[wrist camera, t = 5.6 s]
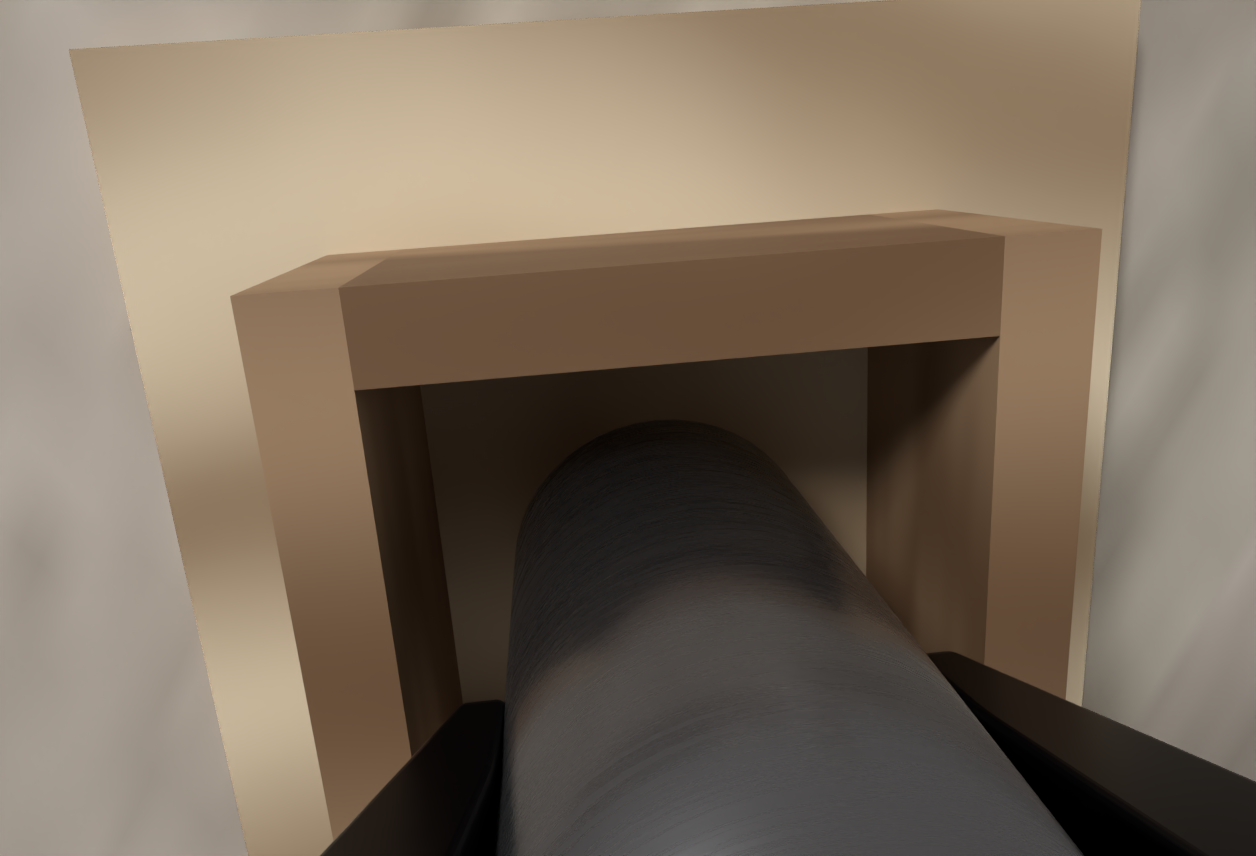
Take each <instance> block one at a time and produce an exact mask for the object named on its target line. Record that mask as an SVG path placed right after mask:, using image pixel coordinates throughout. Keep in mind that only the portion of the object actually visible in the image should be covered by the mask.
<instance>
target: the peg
mask: <svg viewBox="0 0 1256 856" xmlns="http://www.w3.org/2000/svg"><path fill="white" fill-rule="evenodd" d="M494 856H1084V855H1083V853H1082V852H1081V851H1080V850H1079V848H1078V847H1077V846H1076V844H1075V843H1074V842H1073V841H1072V839H1071V838H1070V837H1069V835H1068V834H1067V833H1066V832H1065V830H1064V829H1063V828H1062V827H1061V825H1060V824H1059V823H1058V821H1057V820H1056V819H1055V818H1054V816H1053V815H1052V814H1051V813H1050V811H1049V810H1048V809H1047V807H1046V806H1045V805H1044V804H1043V802H1042V801H1041V800H1040V798H1039V797H1038V796H1037V795H1036V793H1035V792H1034V791H1033V790H1032V788H1031V787H1030V786H1029V784H1028V783H1027V782H1026V781H1025V779H1024V778H1023V777H1022V775H1021V774H1020V773H1019V772H1018V770H1017V769H1016V768H1015V767H1014V765H1013V764H1012V763H1011V761H1010V760H1009V759H1008V758H1007V756H1006V755H1005V754H1004V752H1003V751H1002V750H1001V749H1000V747H999V746H998V745H997V744H996V742H995V741H994V740H993V738H992V737H991V736H990V735H989V733H988V732H987V731H986V730H985V728H984V727H983V726H982V724H981V723H980V722H979V721H978V719H977V718H976V717H975V715H974V714H973V713H972V712H971V710H970V709H969V708H968V707H967V705H966V704H965V703H964V701H963V700H962V699H961V698H960V696H959V695H958V694H957V692H956V691H955V690H954V689H953V687H952V686H951V685H950V684H949V682H948V681H947V680H946V678H945V677H944V676H943V675H942V673H941V672H940V671H939V669H938V668H937V667H936V666H935V664H934V663H933V662H932V661H931V659H930V658H929V657H928V655H927V654H926V653H925V652H924V650H923V649H922V648H921V647H920V645H919V644H918V643H917V641H916V640H915V639H914V638H913V636H912V635H911V634H910V632H909V631H908V630H907V629H906V627H905V626H904V625H903V624H902V622H901V621H900V620H899V618H898V617H897V616H896V615H895V613H894V612H893V611H892V609H891V608H890V607H889V606H888V604H887V603H886V602H885V601H884V599H883V598H882V597H881V595H880V594H879V593H878V592H877V590H876V589H875V588H874V586H873V585H872V584H871V583H870V581H869V580H868V579H867V578H866V576H865V575H864V574H863V572H862V571H861V570H860V569H859V567H858V566H857V565H856V564H855V562H854V561H853V560H852V558H851V557H850V556H849V555H848V553H847V552H846V551H845V549H844V548H843V547H842V546H841V544H840V543H839V542H838V541H837V539H836V538H835V537H834V535H833V534H832V533H831V532H830V530H829V529H828V528H827V526H826V525H825V524H824V523H823V521H822V520H821V519H820V518H819V516H818V515H817V514H816V512H815V511H814V510H813V509H812V507H811V506H810V505H809V503H808V502H807V501H806V500H805V498H804V497H803V496H802V495H801V493H800V492H799V491H798V489H797V488H796V487H795V486H794V484H793V483H792V482H791V480H790V479H789V478H788V477H787V475H786V474H785V473H784V472H783V470H782V469H781V468H780V466H779V465H777V464H776V463H775V462H774V461H773V460H772V459H771V458H770V457H769V456H768V455H767V454H766V453H765V452H764V451H762V450H761V449H759V448H758V447H757V446H755V445H754V444H753V443H751V442H750V441H748V440H746V439H744V438H742V437H740V436H739V435H737V434H735V433H733V432H730V431H727V430H725V429H722V428H720V427H717V426H713V425H709V424H705V423H701V422H696V421H686V420H653V421H647V422H640V423H635V424H631V425H628V426H624V427H621V428H617V429H615V430H612V431H610V432H608V433H605V434H603V435H601V436H598V437H596V438H595V439H593V440H591V441H590V442H588V443H586V444H584V445H583V446H581V447H579V448H578V449H577V450H576V451H574V452H573V453H572V454H570V455H569V456H568V457H566V458H565V459H564V460H563V461H562V462H561V463H560V464H559V465H558V466H557V467H556V468H555V469H554V470H553V471H552V472H551V473H550V474H549V475H548V477H547V478H546V479H545V481H544V482H543V483H542V484H541V486H540V487H539V488H538V490H537V492H536V493H535V495H534V497H533V499H532V500H531V502H530V504H529V506H528V508H527V510H526V513H525V515H524V518H523V520H522V523H521V526H520V530H519V534H518V538H517V543H516V553H515V563H514V577H513V591H512V605H511V619H510V633H509V647H508V661H507V675H506V689H505V713H504V727H503V741H502V755H501V769H500V783H499V796H498V808H497V820H496V832H495V843H494Z"/></svg>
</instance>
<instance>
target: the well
mask: <svg viewBox="0 0 1256 856" xmlns="http://www.w3.org/2000/svg"><path fill="white" fill-rule="evenodd" d="M1140 6H1141V0H887V1H870V2H854V3H837V4H820V5H803V6H787V7H770V8H753V9H737V10H720V11H703V12H686V13H670V14H653V15H636V16H620V17H603V18H586V19H569V20H553V21H536V22H519V23H503V24H486V25H469V26H452V27H436V28H419V29H402V30H386V31H369V32H352V33H335V34H319V35H302V36H285V37H269V38H252V39H235V40H218V41H202V42H185V43H168V44H152V45H135V46H118V47H101V48H85V49H69V53H70V57H71V62H72V66H73V71H74V75H75V80H76V84H77V89H78V93H79V98H80V102H81V107H82V111H83V116H84V120H85V124H86V129H87V133H88V138H89V142H90V147H91V151H92V156H93V160H94V165H95V169H96V174H97V178H98V183H99V187H100V192H101V196H102V201H103V205H104V210H105V214H106V219H107V223H108V228H109V232H110V237H111V241H112V246H113V250H114V255H115V259H116V264H117V268H118V273H119V277H120V282H121V286H122V291H123V295H124V300H125V304H126V309H127V313H128V318H129V322H130V327H131V331H132V336H133V340H134V345H135V349H136V354H137V358H138V363H139V367H140V372H141V376H142V381H143V385H144V390H145V394H146V398H147V403H148V407H149V412H150V416H151V421H152V425H153V430H154V434H155V439H156V443H157V448H158V452H159V457H160V461H161V466H162V470H163V475H164V479H165V484H166V488H167V493H168V497H169V502H170V506H171V511H172V515H173V520H174V524H175V529H176V533H177V538H178V542H179V547H180V551H181V556H182V560H183V565H184V569H185V574H186V578H187V583H188V587H189V592H190V596H191V601H192V605H193V610H194V614H195V619H196V623H197V628H198V632H199V637H200V641H201V646H202V650H203V655H204V659H205V664H206V668H207V672H208V677H209V681H210V686H211V690H212V695H213V699H214V704H215V708H216V713H217V717H218V722H219V726H220V731H221V735H222V740H223V744H224V749H225V753H226V758H227V762H228V767H229V771H230V776H231V780H232V785H233V789H234V794H235V798H236V803H237V807H238V812H239V816H240V821H241V825H242V830H243V834H244V839H245V843H246V848H247V852H248V856H320V855H321V854H322V853H323V851H324V850H325V849H326V848H327V847H328V846H329V845H330V844H331V843H332V842H333V841H334V840H335V839H336V838H337V836H338V835H339V834H340V833H341V832H342V831H343V830H344V829H345V828H346V827H347V826H348V825H349V824H350V823H351V822H352V820H353V819H354V818H355V817H356V816H357V815H358V814H359V813H360V812H361V811H362V810H363V809H364V808H365V807H366V805H367V804H368V803H369V802H370V801H371V800H372V799H373V798H374V797H375V796H376V795H377V794H378V793H379V792H380V791H381V789H382V788H383V787H384V786H385V785H386V784H387V783H388V782H389V781H390V780H391V779H392V778H393V777H394V776H395V774H396V773H397V772H398V771H399V770H400V769H401V768H402V767H403V766H404V765H405V764H406V763H407V762H408V761H409V760H410V758H411V757H412V756H413V755H414V754H415V753H416V752H417V751H418V750H419V749H420V748H421V747H422V746H423V745H424V743H425V742H426V741H427V740H428V739H429V738H430V737H431V736H432V735H433V734H434V733H435V732H436V731H437V730H438V729H439V727H440V726H441V725H442V724H443V723H444V722H445V721H446V720H447V719H448V718H449V717H450V716H451V715H452V714H453V712H454V711H455V710H456V709H457V708H458V707H459V706H461V705H462V704H464V703H467V702H476V701H486V700H495V699H498V700H502V701H503V702H504V703H505V689H506V675H507V661H508V647H509V633H510V619H511V605H512V591H513V577H514V563H515V553H516V543H517V538H518V534H519V530H520V526H521V523H522V520H523V518H524V515H525V513H526V510H527V508H528V506H529V504H530V502H531V500H532V499H533V497H534V495H535V493H536V492H537V490H538V488H539V487H540V486H541V484H542V483H543V482H544V481H545V479H546V478H547V477H548V475H549V474H550V473H551V472H552V471H553V470H554V469H555V468H556V467H557V466H558V465H559V464H560V463H561V462H562V461H563V460H564V459H565V458H566V457H568V456H569V455H570V454H572V453H573V452H574V451H576V450H577V449H578V448H579V447H581V446H583V445H584V444H586V443H588V442H590V441H591V440H593V439H595V438H596V437H598V436H601V435H603V434H605V433H608V432H610V431H612V430H615V429H617V428H621V427H624V426H628V425H631V424H635V423H640V422H647V421H653V420H686V421H696V422H701V423H705V424H709V425H713V426H717V427H720V428H722V429H725V430H727V431H730V432H733V433H735V434H737V435H739V436H740V437H742V438H744V439H746V440H748V441H750V442H751V443H753V444H754V445H755V446H757V447H758V448H759V449H761V450H762V451H764V452H765V453H766V454H767V455H768V456H769V457H770V458H771V459H772V460H773V461H774V462H775V463H776V464H777V465H779V466H780V468H781V469H782V470H783V472H784V473H785V474H786V475H787V477H788V478H789V479H790V480H791V482H792V483H793V484H794V486H795V487H796V488H797V489H798V491H799V492H800V493H801V495H802V496H803V497H804V498H805V500H806V501H807V502H808V503H809V505H810V506H811V507H812V509H813V510H814V511H815V512H816V514H817V515H818V516H819V518H820V519H821V520H822V521H823V523H824V524H825V525H826V526H827V528H828V529H829V530H830V532H831V533H832V534H833V535H834V537H835V538H836V539H837V541H838V542H839V543H840V544H841V546H842V547H843V548H844V549H845V551H846V552H847V553H848V555H849V556H850V557H851V558H852V560H853V561H854V562H855V564H856V565H857V566H858V567H859V569H860V570H861V571H862V572H863V574H864V575H865V576H866V578H867V579H868V580H869V581H870V583H871V584H872V585H873V586H874V588H875V589H876V590H877V592H878V593H879V594H880V595H881V597H882V598H883V599H884V601H885V602H886V603H887V604H888V606H889V607H890V608H891V609H892V611H893V612H894V613H895V615H896V616H897V617H898V618H899V620H900V621H901V622H902V624H903V625H904V626H905V627H906V629H907V630H908V631H909V632H910V634H911V635H912V636H913V638H914V639H915V640H916V641H917V643H918V644H919V645H920V647H921V648H922V649H923V650H924V652H925V653H932V652H941V651H953V652H956V653H958V654H961V655H963V656H965V657H968V658H970V659H972V660H975V661H977V662H979V663H982V664H984V665H986V666H989V667H991V668H993V669H995V670H998V671H1000V672H1002V673H1005V674H1007V675H1009V676H1012V677H1014V678H1016V679H1019V680H1021V681H1023V682H1026V683H1028V684H1030V685H1032V686H1035V687H1037V688H1039V689H1042V690H1044V691H1046V692H1049V693H1051V694H1053V695H1056V696H1058V697H1060V698H1063V699H1065V700H1067V701H1070V702H1072V703H1074V704H1076V705H1079V706H1081V707H1082V697H1083V686H1084V674H1085V662H1086V650H1087V638H1088V626H1089V614H1090V602H1091V590H1092V578H1093V566H1094V555H1095V543H1096V531H1097V519H1098V507H1099V495H1100V483H1101V471H1102V459H1103V447H1104V435H1105V423H1106V412H1107V400H1108V388H1109V376H1110V364H1111V352H1112V340H1113V328H1114V316H1115V304H1116V292H1117V280H1118V269H1119V257H1120V245H1121V233H1122V221H1123V209H1124V197H1125V185H1126V173H1127V161H1128V149H1129V138H1130V126H1131V114H1132V102H1133V90H1134V78H1135V66H1136V54H1137V42H1138V30H1139V18H1140Z"/></svg>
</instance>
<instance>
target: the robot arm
mask: <svg viewBox="0 0 1256 856" xmlns="http://www.w3.org/2000/svg"><path fill="white" fill-rule="evenodd" d="M926 654H927V655H928V657H929V658H930V659H931V661H932V662H933V663H934V664H935V666H936V667H937V668H938V669H939V671H940V672H941V673H942V675H943V676H944V677H945V678H946V680H947V681H948V682H949V684H950V685H951V686H952V687H953V689H954V690H955V691H956V692H957V694H958V695H959V696H960V698H961V699H962V700H963V701H964V703H965V704H966V705H967V707H968V708H969V709H970V710H971V712H972V713H973V714H974V715H975V717H976V718H977V719H978V721H979V722H980V723H981V724H982V726H983V727H984V728H985V730H986V731H987V732H988V733H989V735H990V736H991V737H992V738H993V740H994V741H995V742H996V744H997V745H998V746H999V747H1000V749H1001V750H1002V751H1003V752H1004V754H1005V755H1006V756H1007V758H1008V759H1009V760H1010V761H1011V763H1012V764H1013V765H1014V767H1015V768H1016V769H1017V770H1018V772H1019V773H1020V774H1021V775H1022V777H1023V778H1024V779H1025V781H1026V782H1027V783H1028V784H1029V786H1030V787H1031V788H1032V790H1033V791H1034V792H1035V793H1036V795H1037V796H1038V797H1039V798H1040V800H1041V801H1042V802H1043V804H1044V805H1045V806H1046V807H1047V809H1048V810H1049V811H1050V813H1051V814H1052V815H1053V816H1054V818H1055V819H1056V820H1057V821H1058V823H1059V824H1060V825H1061V827H1062V828H1063V829H1064V830H1065V832H1066V833H1067V834H1068V835H1069V837H1070V838H1071V839H1072V841H1073V842H1074V843H1075V844H1076V846H1077V847H1078V848H1079V850H1080V851H1081V852H1082V853H1083V855H1084V856H1256V782H1255V781H1253V780H1250V779H1248V778H1246V777H1243V776H1241V775H1239V774H1236V773H1234V772H1232V771H1229V770H1227V769H1225V768H1222V767H1220V766H1218V765H1216V764H1213V763H1211V762H1209V761H1206V760H1204V759H1202V758H1199V757H1197V756H1195V755H1192V754H1190V753H1188V752H1185V751H1183V750H1181V749H1178V748H1176V747H1174V746H1171V745H1169V744H1167V743H1165V742H1162V741H1160V740H1158V739H1155V738H1153V737H1151V736H1148V735H1146V734H1144V733H1141V732H1139V731H1137V730H1134V729H1132V728H1130V727H1127V726H1125V725H1123V724H1120V723H1118V722H1116V721H1114V720H1111V719H1109V718H1107V717H1104V716H1102V715H1100V714H1097V713H1095V712H1093V711H1090V710H1088V709H1086V708H1083V707H1081V706H1079V705H1076V704H1074V703H1072V702H1070V701H1067V700H1065V699H1063V698H1060V697H1058V696H1056V695H1053V694H1051V693H1049V692H1046V691H1044V690H1042V689H1039V688H1037V687H1035V686H1032V685H1030V684H1028V683H1026V682H1023V681H1021V680H1019V679H1016V678H1014V677H1012V676H1009V675H1007V674H1005V673H1002V672H1000V671H998V670H995V669H993V668H991V667H989V666H986V665H984V664H982V663H979V662H977V661H975V660H972V659H970V658H968V657H965V656H963V655H961V654H958V653H956V652H953V651H941V652H932V653H926ZM504 713H505V703H504V702H503V701H502V700H498V699H495V700H486V701H476V702H467V703H464V704H462V705H461V706H459V707H458V708H457V709H456V710H455V711H454V712H453V714H452V715H451V716H450V717H449V718H448V719H447V720H446V721H445V722H444V723H443V724H442V725H441V726H440V727H439V729H438V730H437V731H436V732H435V733H434V734H433V735H432V736H431V737H430V738H429V739H428V740H427V741H426V742H425V743H424V745H423V746H422V747H421V748H420V749H419V750H418V751H417V752H416V753H415V754H414V755H413V756H412V757H411V758H410V760H409V761H408V762H407V763H406V764H405V765H404V766H403V767H402V768H401V769H400V770H399V771H398V772H397V773H396V774H395V776H394V777H393V778H392V779H391V780H390V781H389V782H388V783H387V784H386V785H385V786H384V787H383V788H382V789H381V791H380V792H379V793H378V794H377V795H376V796H375V797H374V798H373V799H372V800H371V801H370V802H369V803H368V804H367V805H366V807H365V808H364V809H363V810H362V811H361V812H360V813H359V814H358V815H357V816H356V817H355V818H354V819H353V820H352V822H351V823H350V824H349V825H348V826H347V827H346V828H345V829H344V830H343V831H342V832H341V833H340V834H339V835H338V836H337V838H336V839H335V840H334V841H333V842H332V843H331V844H330V845H329V846H328V847H327V848H326V849H325V850H324V851H323V853H322V854H321V855H320V856H494V843H495V832H496V820H497V808H498V796H499V783H500V769H501V755H502V741H503V727H504Z"/></svg>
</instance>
